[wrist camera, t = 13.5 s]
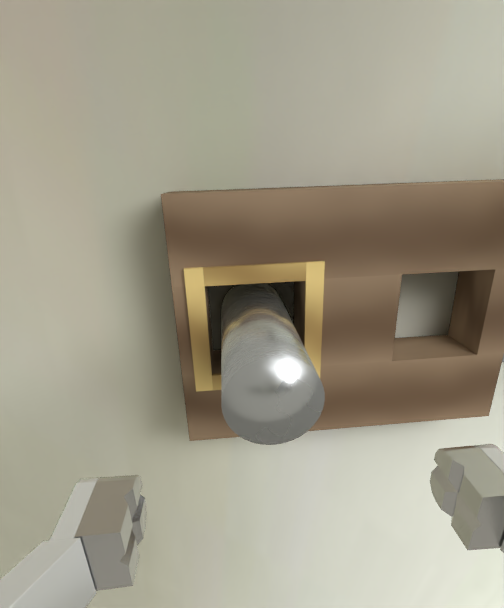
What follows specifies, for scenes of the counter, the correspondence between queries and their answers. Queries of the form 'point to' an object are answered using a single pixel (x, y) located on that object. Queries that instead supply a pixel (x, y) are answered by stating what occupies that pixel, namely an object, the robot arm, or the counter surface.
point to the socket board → (347, 292)
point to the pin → (265, 369)
